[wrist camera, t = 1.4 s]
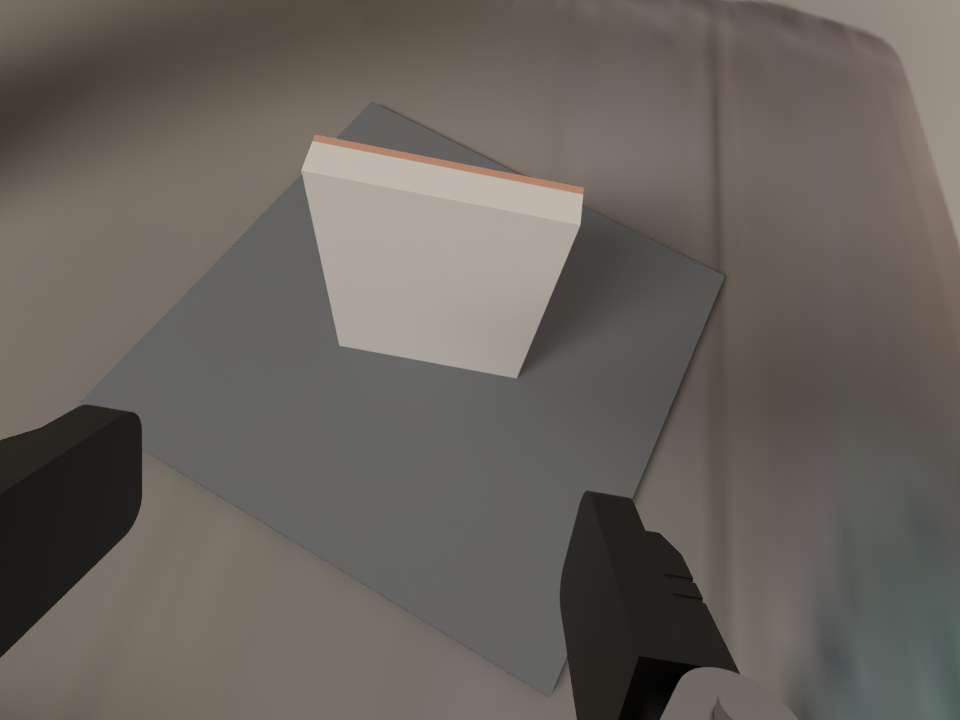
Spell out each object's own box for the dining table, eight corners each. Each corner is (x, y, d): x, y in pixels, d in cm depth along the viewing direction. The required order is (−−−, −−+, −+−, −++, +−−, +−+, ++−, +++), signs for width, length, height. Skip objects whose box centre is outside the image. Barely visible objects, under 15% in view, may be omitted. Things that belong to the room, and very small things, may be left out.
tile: (516, 378, 29) (580, 225, 19) (339, 345, 29) (301, 170, 18) (520, 350, 30) (583, 187, 19) (347, 318, 30) (315, 134, 19)
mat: (81, 411, 27) (75, 407, 26) (372, 108, 37) (372, 101, 37) (547, 696, 24) (550, 697, 23) (720, 280, 34) (725, 275, 34)
